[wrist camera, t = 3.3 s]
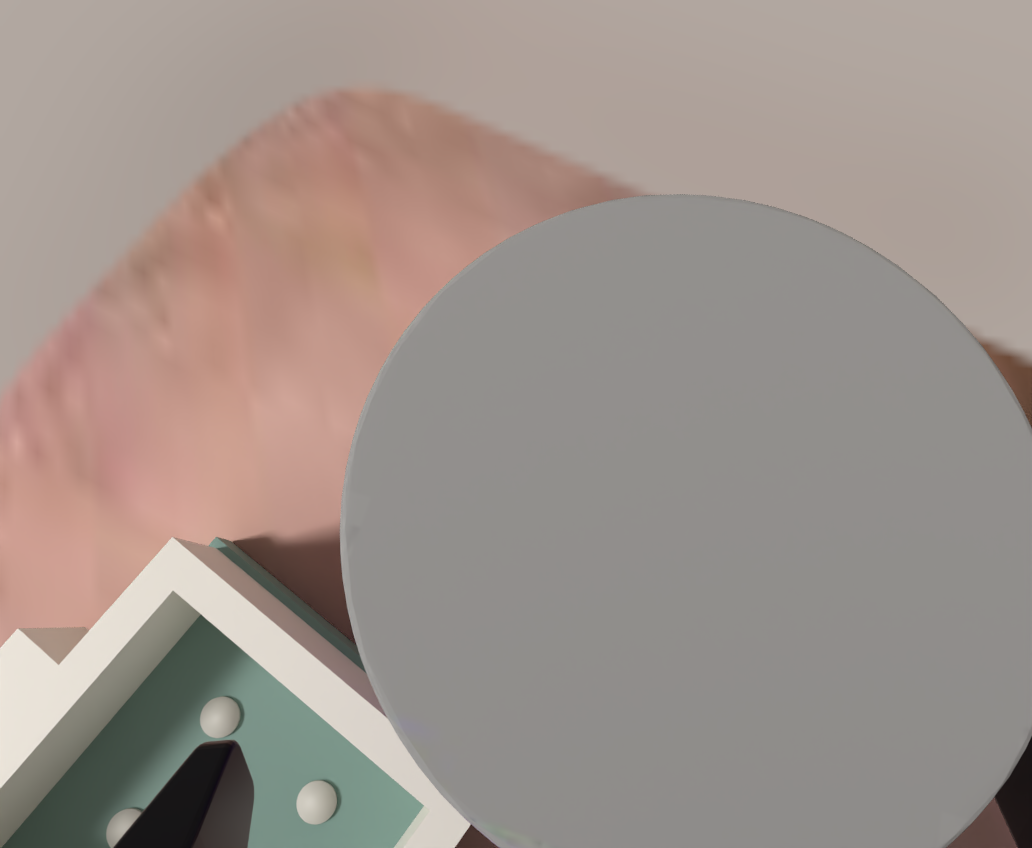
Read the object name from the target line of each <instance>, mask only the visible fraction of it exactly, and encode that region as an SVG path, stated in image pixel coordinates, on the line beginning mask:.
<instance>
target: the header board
mask: <svg viewBox="0 0 1032 848" xmlns="http://www.w3.org/2000/svg"><path fill="white" fill-rule="evenodd" d="M220 740H235V741H237V742H238V743H239V745H240V747H241V749H242V752H243V755H244V757H245V760H246V763H247V765H248V768H249V771H250V773H251V776H252V779H253V783H254V805H253V812H252V820H251V827H250V834H249V841H248V848H455V846H456V845H457V844H458V842H459V841H460V839H461V838H462V836H463V835H464V834H465V832H466V831H467V829H468V828H469V826H470V825H471V824H470V823H469V822H468V821H467V820H466V819H465V818H464V817H463V816H462V815H461V814H460V813H459V812H458V811H457V810H456V809H455V808H454V807H453V806H452V805H451V804H450V803H449V802H448V801H447V800H446V799H445V798H444V797H443V796H442V795H441V794H440V793H439V791H438V790H437V789H436V788H435V786H434V785H433V784H432V783H431V782H430V780H429V779H428V778H427V777H426V776H425V774H424V773H423V772H422V771H421V769H420V768H419V767H418V765H417V764H416V762H415V761H414V760H413V758H412V757H411V755H410V754H409V752H408V751H407V749H406V748H405V746H404V745H403V743H402V742H401V740H400V739H399V737H398V735H397V734H396V732H395V730H394V728H393V727H392V725H391V723H390V721H389V719H388V718H387V716H386V714H385V712H384V711H383V709H382V707H381V705H380V703H379V701H378V698H377V696H376V694H375V692H374V690H373V687H372V685H371V683H370V680H369V678H368V675H367V673H366V670H365V668H364V665H363V663H362V660H361V657H360V654H359V651H358V647H357V646H356V645H355V644H354V643H353V642H352V641H350V640H349V639H348V638H347V637H346V636H344V635H343V634H342V633H341V632H340V631H338V630H337V629H336V628H335V627H334V626H332V625H331V624H330V623H329V622H328V621H326V620H325V619H324V618H323V617H322V616H320V615H319V614H318V613H317V612H316V611H314V610H313V609H312V608H311V607H310V606H308V605H307V604H306V603H305V602H304V601H302V600H301V599H300V598H299V597H297V596H296V595H295V594H294V593H293V592H291V591H290V590H289V589H288V588H287V587H285V586H284V585H283V584H282V583H281V582H279V581H278V580H277V579H276V578H275V577H273V576H272V575H271V574H270V573H269V572H267V571H266V570H265V569H264V568H263V567H261V566H260V565H259V564H258V563H257V562H255V561H254V560H253V559H252V558H251V557H249V556H248V555H247V554H246V553H245V552H243V551H242V550H241V549H240V548H238V547H237V546H236V545H235V544H234V543H232V542H231V541H229V540H225V539H222V538H218V537H216V538H215V539H214V540H213V541H212V542H211V544H210V545H209V546H206V545H202V544H198V543H194V542H190V541H186V540H182V539H178V538H174V537H172V538H171V539H170V540H169V542H168V543H167V544H166V545H165V546H164V547H163V548H162V549H161V551H160V552H159V553H158V554H157V555H156V556H155V557H154V558H153V560H152V561H151V562H150V563H149V564H148V565H147V566H146V567H145V569H144V570H143V571H142V572H141V573H140V574H139V575H138V576H137V578H136V579H135V580H134V581H133V582H132V583H131V584H130V585H129V587H128V588H127V589H126V590H125V591H124V592H123V593H122V594H121V596H120V597H119V598H118V599H117V600H116V601H115V602H114V603H113V605H112V606H111V607H110V608H109V609H108V610H107V611H106V612H105V614H104V615H103V616H102V617H101V618H100V619H99V620H98V621H97V623H96V624H95V625H94V626H93V627H92V628H91V629H90V630H88V629H86V628H85V627H69V628H18V629H17V630H16V631H15V632H14V633H13V635H12V636H11V637H10V638H9V639H8V640H7V641H6V642H5V643H4V644H3V645H2V647H1V648H0V848H113V847H114V846H115V844H116V843H117V842H118V841H119V839H120V838H121V837H122V836H123V835H124V833H125V832H126V831H127V830H128V829H129V827H130V826H131V825H132V824H133V823H134V821H135V820H136V819H137V818H138V817H139V815H140V814H141V813H142V812H143V811H144V809H145V808H146V807H147V806H148V805H149V803H150V802H151V801H152V800H153V799H154V797H155V796H156V795H157V794H158V793H159V791H160V790H161V789H162V788H163V786H164V785H165V784H166V783H167V782H168V780H169V779H170V778H171V777H172V776H173V774H174V773H175V772H176V771H177V770H178V768H179V767H180V766H181V765H182V764H183V762H184V761H185V760H186V759H187V758H188V756H189V755H190V754H191V753H192V752H193V750H194V749H195V748H196V747H197V746H199V745H200V744H202V743H204V742H208V741H220Z"/></svg>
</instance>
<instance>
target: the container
mask: <svg viewBox="0 0 1032 848" xmlns="http://www.w3.org/2000/svg"><path fill="white" fill-rule="evenodd" d="M340 554H341V567H342V578H343V585H344V591H345V597H346V603H347V609H348V614H349V618H350V622H351V626H352V630H353V634H354V638H355V641H356V644H357V647H358V651H359V654H360V657H361V660H362V663H363V665H364V668H365V670H366V673H367V675H368V678H369V680H370V683H371V685H372V687H373V690H374V692H375V694H376V696H377V698H378V701H379V703H380V705H381V707H382V709H383V711H384V712H385V714H386V716H387V718H388V719H389V721H390V723H391V725H392V727H393V728H394V730H395V732H396V734H397V735H398V737H399V739H400V740H401V742H402V743H403V745H404V746H405V748H406V749H407V751H408V752H409V754H410V755H411V757H412V758H413V760H414V761H415V762H416V764H417V765H418V767H419V768H420V769H421V771H422V772H423V773H424V774H425V776H426V777H427V778H428V779H429V780H430V782H431V783H432V784H433V785H434V786H435V788H436V789H437V790H438V791H439V793H440V794H441V795H442V796H443V797H444V798H445V799H446V800H447V801H448V802H449V803H450V804H451V805H452V806H453V807H454V808H455V809H456V810H457V811H458V812H459V813H460V814H461V815H462V816H463V817H464V818H465V819H466V820H467V821H468V822H469V823H470V824H471V825H472V826H474V827H475V828H476V829H477V830H478V831H479V832H481V833H482V834H483V835H484V836H485V837H487V838H488V839H489V840H490V841H491V842H492V843H494V844H495V845H496V846H498V847H499V848H946V847H947V846H948V845H950V844H951V843H952V842H953V841H954V840H955V839H956V838H957V837H958V836H959V835H960V834H961V833H962V832H963V831H964V830H966V829H967V828H968V827H969V825H970V824H971V823H972V822H973V821H974V820H975V819H976V818H977V817H978V816H979V814H980V813H981V812H982V811H983V810H984V809H985V808H986V806H987V805H988V804H989V803H990V802H991V800H992V799H993V798H994V796H995V795H996V794H997V792H998V791H999V790H1000V788H1001V787H1002V786H1003V785H1004V783H1005V782H1006V781H1007V779H1008V778H1009V777H1010V775H1011V773H1012V772H1013V770H1014V768H1015V766H1016V765H1017V763H1018V761H1019V760H1020V758H1021V756H1022V754H1023V753H1024V751H1025V749H1026V747H1027V745H1028V743H1029V741H1030V739H1031V737H1032V428H1031V426H1030V424H1029V422H1028V419H1027V417H1026V415H1025V413H1024V411H1023V409H1022V407H1021V406H1020V404H1019V402H1018V400H1017V398H1016V396H1015V395H1014V393H1013V391H1012V389H1011V388H1010V386H1009V384H1008V383H1007V381H1006V380H1005V378H1004V377H1003V375H1002V374H1001V372H1000V370H999V369H998V367H997V366H996V365H995V363H994V362H993V361H992V359H991V358H990V356H989V355H988V354H987V352H986V351H985V350H984V348H983V347H982V345H981V344H980V343H979V342H978V341H977V339H976V338H975V337H974V336H973V335H972V334H971V332H970V331H969V330H968V329H967V328H966V327H965V325H964V324H963V323H962V322H961V321H960V320H959V319H958V318H957V317H956V316H955V315H954V314H953V313H952V312H951V311H950V310H949V309H948V308H947V307H946V306H945V305H944V304H943V303H942V302H941V301H940V300H939V299H938V298H937V297H936V296H935V295H934V294H932V293H931V292H930V291H929V290H928V289H926V288H925V287H924V286H923V285H922V284H920V283H919V282H918V281H917V280H915V279H914V278H913V277H912V276H910V275H909V274H908V273H907V272H905V271H904V270H903V269H901V268H900V267H899V266H897V265H896V264H895V263H893V262H892V261H890V260H889V259H887V258H885V257H884V256H882V255H881V254H879V253H878V252H876V251H874V250H873V249H871V248H870V247H868V246H866V245H864V244H862V243H861V242H859V241H857V240H855V239H853V238H851V237H849V236H848V235H846V234H844V233H842V232H840V231H838V230H835V229H833V228H831V227H829V226H827V225H824V224H822V223H819V222H817V221H814V220H812V219H809V218H807V217H804V216H801V215H798V214H795V213H792V212H788V211H785V210H782V209H779V208H776V207H772V206H768V205H763V204H758V203H754V202H750V201H746V200H738V199H730V198H723V197H716V196H706V195H685V194H684V195H683V194H676V195H645V196H638V197H631V198H624V199H617V200H611V201H607V202H603V203H599V204H595V205H591V206H587V207H583V208H579V209H576V210H572V211H569V212H567V213H564V214H561V215H559V216H556V217H553V218H551V219H548V220H546V221H543V222H541V223H538V224H536V225H534V226H532V227H530V228H528V229H526V230H524V231H522V232H520V233H518V234H516V235H514V236H512V237H510V238H508V239H506V240H505V241H503V242H502V243H500V244H498V245H497V246H495V247H494V248H492V249H490V250H489V251H487V252H486V253H484V254H483V255H482V256H480V257H479V258H477V259H476V260H475V261H473V262H472V263H471V264H469V265H468V266H467V267H466V268H464V269H463V270H462V271H461V272H460V273H458V274H457V275H456V276H455V277H454V278H452V279H451V280H450V281H449V282H448V283H447V284H446V285H445V286H444V287H443V288H442V289H441V290H440V291H439V292H438V293H437V294H436V295H435V296H434V297H433V298H432V299H431V300H430V301H429V302H428V303H427V304H426V306H425V307H424V308H423V309H422V310H421V311H420V312H419V314H418V315H417V316H416V317H415V319H414V320H413V321H412V323H411V324H410V325H409V326H408V328H407V329H406V330H405V331H404V333H403V334H402V336H401V337H400V339H399V340H398V342H397V343H396V345H395V346H394V348H393V349H392V351H391V353H390V354H389V356H388V358H387V359H386V361H385V363H384V365H383V366H382V368H381V370H380V372H379V374H378V376H377V378H376V380H375V382H374V384H373V387H372V389H371V391H370V393H369V395H368V397H367V400H366V402H365V405H364V407H363V410H362V412H361V415H360V418H359V421H358V424H357V427H356V431H355V434H354V437H353V441H352V445H351V449H350V454H349V458H348V462H347V466H346V472H345V479H344V486H343V493H342V503H341V519H340Z"/></svg>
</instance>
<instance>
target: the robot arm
mask: <svg viewBox="0 0 1032 848" xmlns="http://www.w3.org/2000/svg"><path fill="white" fill-rule="evenodd" d="M994 797H995V800H996V802H997V804H998V806H999V808H1000V811H1001V813H1002V815H1003V817H1004V819H1005V821H1006V824H1007V826H1008V828H1009V830H1010V832H1011V835H1012V837H1013V839H1014V841H1015V843H1016V845H1017V847H1018V848H1032V737H1031V739H1030V741H1029V743H1028V745H1027V747H1026V749H1025V751H1024V753H1023V754H1022V756H1021V758H1020V760H1019V761H1018V763H1017V765H1016V766H1015V768H1014V770H1013V772H1012V773H1011V775H1010V777H1009V778H1008V779H1007V781H1006V782H1005V783H1004V785H1003V786H1002V787H1001V788H1000V790H999V791H998V792H997V794H996V795H995V796H994ZM253 805H254V783H253V779H252V776H251V773H250V771H249V768H248V765H247V763H246V760H245V757H244V755H243V752H242V749H241V747H240V745H239V743H238V742H237V741H235V740H220V741H208V742H204V743H202V744H200V745H199V746H197V747H196V748H195V749H194V750H193V752H192V753H191V754H190V755H189V756H188V758H187V759H186V760H185V761H184V762H183V764H182V765H181V766H180V767H179V768H178V770H177V771H176V772H175V773H174V774H173V776H172V777H171V778H170V779H169V780H168V782H167V783H166V784H165V785H164V786H163V788H162V789H161V790H160V791H159V793H158V794H157V795H156V796H155V797H154V799H153V800H152V801H151V802H150V803H149V805H148V806H147V807H146V808H145V809H144V811H143V812H142V813H141V814H140V815H139V817H138V818H137V819H136V820H135V821H134V823H133V824H132V825H131V826H130V827H129V829H128V830H127V831H126V832H125V833H124V835H123V836H122V837H121V838H120V839H119V841H118V842H117V843H116V844H115V846H114V847H113V848H248V841H249V834H250V827H251V820H252V812H253Z"/></svg>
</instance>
